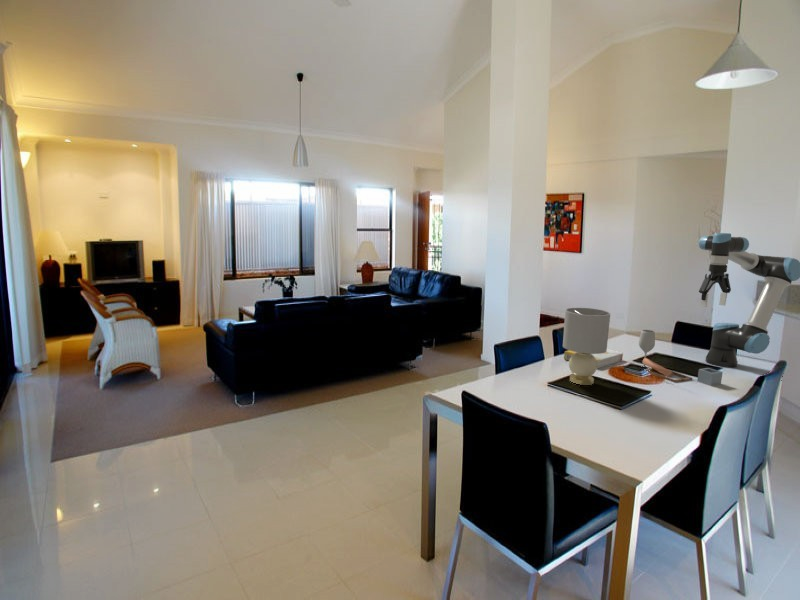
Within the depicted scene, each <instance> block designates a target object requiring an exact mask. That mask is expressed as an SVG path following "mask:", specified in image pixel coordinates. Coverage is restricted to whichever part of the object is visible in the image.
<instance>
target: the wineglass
mask: <svg viewBox="0 0 800 600" xmlns="http://www.w3.org/2000/svg"><path fill="white" fill-rule="evenodd" d="M655 345H656V334H655V331H654V330H651V329H641V332H640V336H639V340H638V346H639V348H640V350H642V351H643V352H644V358H647V353H649V352H650V351H652V350H653V349H654V347H655ZM644 358H643V359H644ZM642 366H643V367H647V365H645V364H643V365H642Z"/></svg>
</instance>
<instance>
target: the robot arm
mask: <svg viewBox="0 0 800 600" xmlns="http://www.w3.org/2000/svg"><path fill="white" fill-rule="evenodd" d="M749 246H750V242H749V240H748V239H747V238H746V237H744V236H743V237H742V236H732V234H731V233H727V232H716V233H714V234H713V235H703V236H702V237H700V239H699V241H698V247H699V248H700V249H701V250H703V251H704V250H705V251H710V252H711V253H710V259H709V263H710V264H709V268H708V271H709V272H710V273H705V275H704V279H703V281H702V283H701V285H700V287H699V290H698V293H700V294H701V299H700V300H701V303H700V307H703V308H707V307H708V302H709V301H708V300H709V294H708V293H710V290H711V288H712V287H713V286H714V285H715V284H716V283H717V284H718V285H719V288H720V290H721V292H720V297H719V302H718V303H719V306H724V307H725V306H726V304H727V297H728V294H730V293H731V291H732V288H731V283H730V278H729V274H730V273H727V271H728V264H729V261H731V262H733V263H735V264H737V265H739V266H740V267H741V268H742V269H743V270H745V271H747V272H749V273H751V274H753V275H756V276H758V277H762V278H764V280H765V284H764V286H763V288H762V291H761V292H760V294H759V296H758V299H757V301H756V304H755V305H754V307H753V309H752V311H751V315H750V317H749V318H748V321H746V322H744V323H742V326H741V327H740V324H738V323H732V322H717V323H715V324H713V328H712V335H711V342H710V343H711V344H710V349H709V351H708V352H707V355H706V356H705V361H704V362H706V363H708V364H710V365H713V366H718V367H723V368H724V367H725V368H735V367H737V366H738V362H739V361H738V358H737V353H736V350H740V351H742V352H746V353H749V354H750V353H751V354H760V353H761V354H762V353H763V352H764V351H766V349H767V348H768V347H769V345H770V342H771V341H770V339H771V338H770V336H769V330H768V329H767V328H768V325H769V324H770V321H771V319H772V316H773V315H774V312H775V310H776V308H777V307H778V304H779V302H780V299H781V297H782V296H783V292H784V291H785V289H786V288H787V287H789V286H791V284H792V282H795V281H798V280H800V261H799V259H796V258H795V257H794V258H792V257H783V256H770V255H759V254H756V253H753V252H747V250H748V249H749V248H750V247H749Z"/></svg>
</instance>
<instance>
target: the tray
mask: <svg viewBox="0 0 800 600" xmlns="http://www.w3.org/2000/svg"><path fill="white" fill-rule="evenodd" d="M644 370H646V371H648V372H649V373H650V374H649V375H651V376H656V377H658V378H660V379H661V381H662V382H664V380H665V381H666V380H667V381H669V382H672V383H680V382H688V381H692V380H693V377H691V376H688V375H685V374H682V373H679V372H675V371H674V370H669V369H668V370H669V371H671V372H672V375H675V376H678V377H680V378H676V379H673V378H671V377H667V376H665V375H664V374H661V373H660V372H658V371H656V370H654V369H653V368H650V369H644ZM649 370H650V371H649ZM663 379H664V380H663ZM667 381H666V383H667V384H671V385H674V386H675V384H672V383H669V382H667Z"/></svg>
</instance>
